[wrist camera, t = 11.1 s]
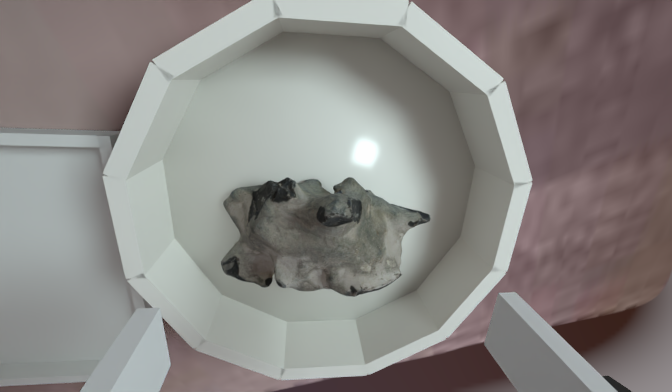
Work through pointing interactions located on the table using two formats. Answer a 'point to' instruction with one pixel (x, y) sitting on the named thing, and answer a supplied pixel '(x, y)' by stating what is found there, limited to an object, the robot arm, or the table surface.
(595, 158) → the table surface
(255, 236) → the decorative stone
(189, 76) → the bowl
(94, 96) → the table surface
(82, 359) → the tray
